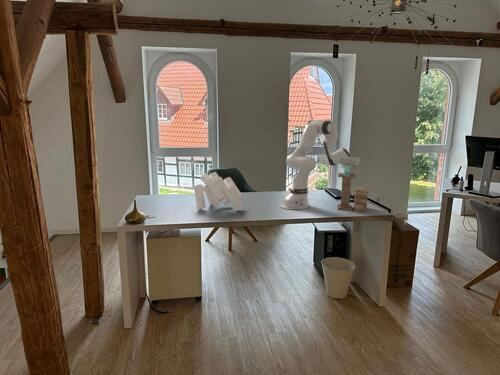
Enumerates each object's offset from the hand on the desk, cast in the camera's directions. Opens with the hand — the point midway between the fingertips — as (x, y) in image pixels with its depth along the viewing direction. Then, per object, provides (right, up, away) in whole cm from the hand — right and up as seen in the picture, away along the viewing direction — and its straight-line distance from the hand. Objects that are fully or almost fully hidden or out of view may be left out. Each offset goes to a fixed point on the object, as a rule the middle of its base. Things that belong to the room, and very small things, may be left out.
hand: (346, 159), depth 273 cm
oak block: (+7, -38, -12) cm, 41 cm away
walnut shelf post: (-4, -38, -10) cm, 39 cm away
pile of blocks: (-99, -38, -9) cm, 106 cm away
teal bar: (-4, -12, -14) cm, 18 cm away
